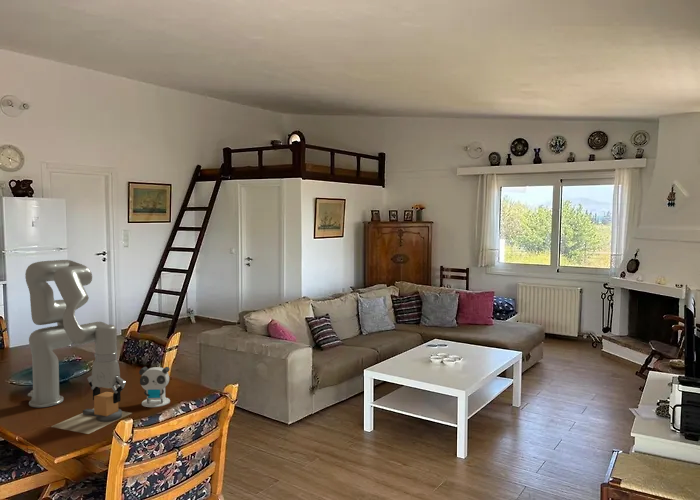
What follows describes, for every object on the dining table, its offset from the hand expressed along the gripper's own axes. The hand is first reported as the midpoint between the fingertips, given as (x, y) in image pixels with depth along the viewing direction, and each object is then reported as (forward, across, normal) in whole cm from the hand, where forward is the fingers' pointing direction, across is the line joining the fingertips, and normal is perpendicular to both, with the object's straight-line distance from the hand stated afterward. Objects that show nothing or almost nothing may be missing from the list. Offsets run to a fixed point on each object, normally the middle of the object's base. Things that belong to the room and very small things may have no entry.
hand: (106, 400), depth 205 cm
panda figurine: (+8, +5, +22) cm, 24 cm away
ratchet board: (+8, -3, -4) cm, 10 cm away
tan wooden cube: (+5, 0, 0) cm, 5 cm away
